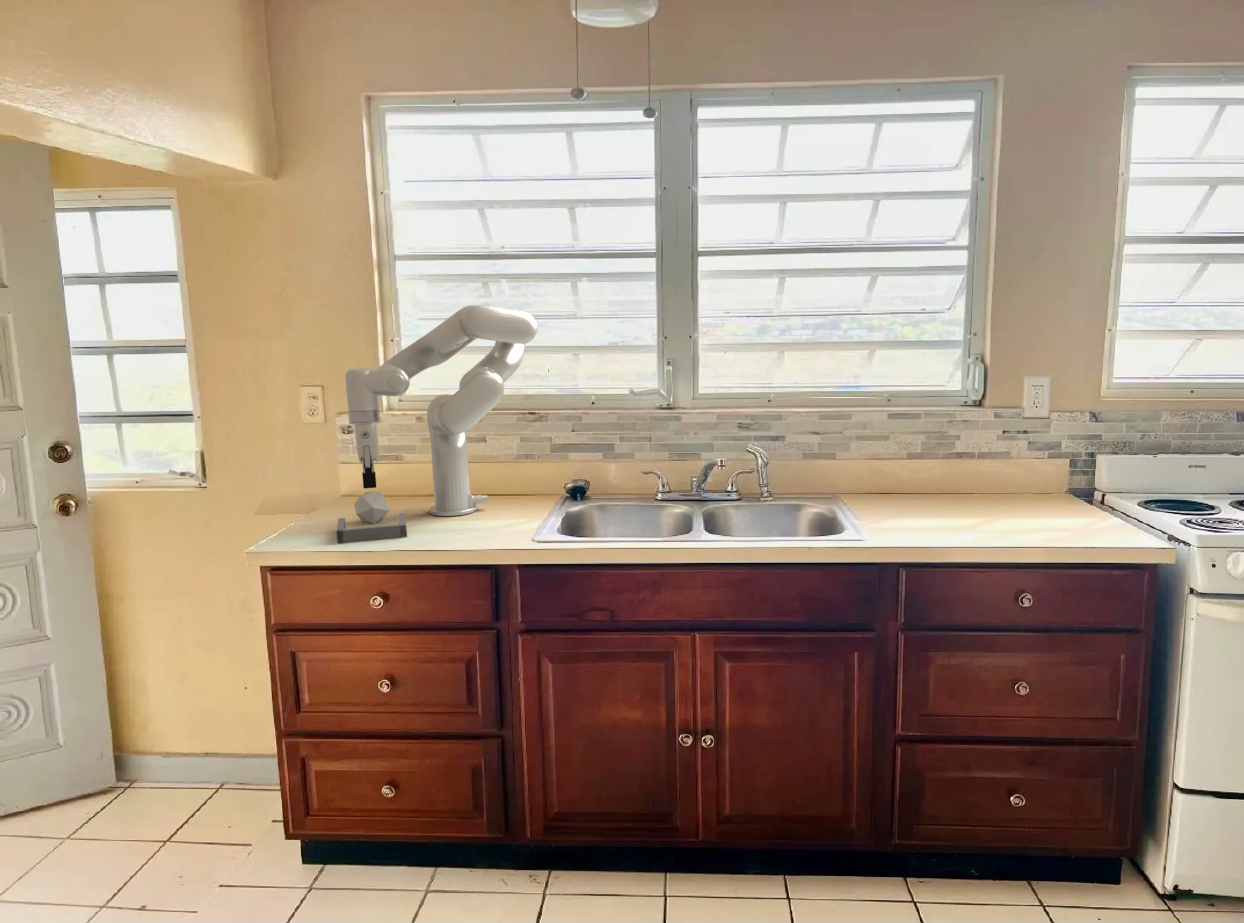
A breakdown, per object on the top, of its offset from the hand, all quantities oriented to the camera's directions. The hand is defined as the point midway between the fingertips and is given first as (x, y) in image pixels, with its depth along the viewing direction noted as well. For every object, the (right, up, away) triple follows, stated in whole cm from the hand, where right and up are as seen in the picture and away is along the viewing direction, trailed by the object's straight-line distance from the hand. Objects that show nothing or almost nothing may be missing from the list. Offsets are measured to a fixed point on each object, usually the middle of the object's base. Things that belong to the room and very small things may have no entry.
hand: (370, 487), depth 217 cm
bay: (+4, -11, -10) cm, 15 cm away
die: (0, -9, +2) cm, 9 cm away
